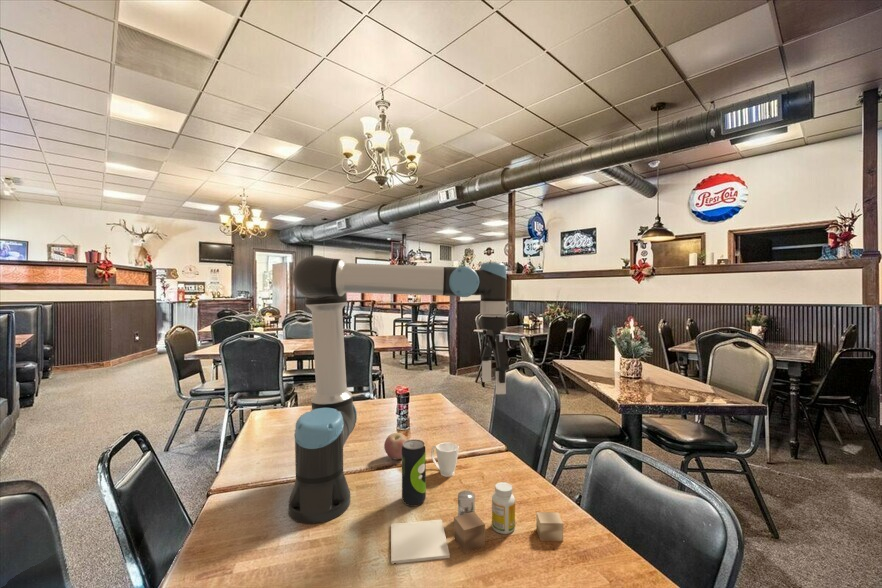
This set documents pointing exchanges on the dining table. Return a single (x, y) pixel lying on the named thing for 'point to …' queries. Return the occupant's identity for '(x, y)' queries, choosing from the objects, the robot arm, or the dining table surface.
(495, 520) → the supplement bottle
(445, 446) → the cup
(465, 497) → the cylinder
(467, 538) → the walnut block
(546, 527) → the oak block
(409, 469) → the beverage can
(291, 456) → the dining table surface
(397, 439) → the apple
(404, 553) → the coaster
